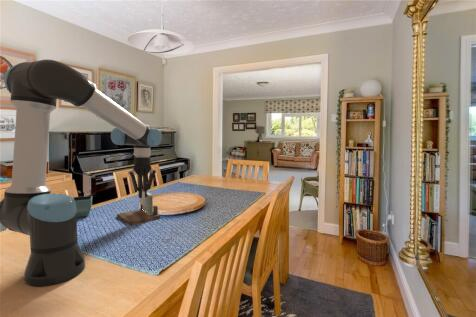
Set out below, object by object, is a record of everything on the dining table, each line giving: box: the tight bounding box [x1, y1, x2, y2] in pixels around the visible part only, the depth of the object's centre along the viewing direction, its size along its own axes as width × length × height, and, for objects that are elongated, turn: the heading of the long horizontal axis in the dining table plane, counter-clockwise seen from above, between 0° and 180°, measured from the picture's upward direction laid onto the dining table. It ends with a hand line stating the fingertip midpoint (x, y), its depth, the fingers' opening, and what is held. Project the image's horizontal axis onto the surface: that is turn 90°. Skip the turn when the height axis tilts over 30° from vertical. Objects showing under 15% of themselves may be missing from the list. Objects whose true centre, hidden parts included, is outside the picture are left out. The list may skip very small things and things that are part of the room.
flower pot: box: [72, 195, 93, 218], centre depth 133 cm, size 9×9×9 cm
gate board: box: [116, 188, 161, 226], centre depth 131 cm, size 15×16×12 cm
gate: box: [142, 191, 154, 215], centre depth 133 cm, size 10×2×10 cm, turn 39°
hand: (142, 204), depth 129 cm, fingers closed
